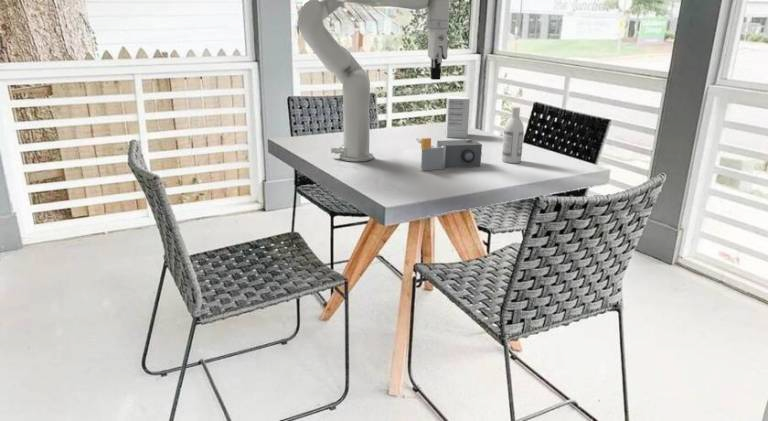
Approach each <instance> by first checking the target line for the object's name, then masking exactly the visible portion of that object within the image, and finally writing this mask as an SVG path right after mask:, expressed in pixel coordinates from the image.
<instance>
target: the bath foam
mask: <svg viewBox="0 0 768 421" xmlns="http://www.w3.org/2000/svg"><path fill="white" fill-rule="evenodd" d="M510 113H511V114H510V118H509V119H508V120H507V121H506V123H505V125H504V129H503V130H504V131H503V139H502V140H503V141H502V154H501V156H502V157H501V160H502V162H503V163H506V164H519V163H521V162H522V154H523V144H524V142H523V141H524V125H523V122H522V120H521V118H520V113H521V107H520V106H512V107H511V112H510Z"/></svg>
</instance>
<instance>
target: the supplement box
mask: <svg viewBox="0 0 768 421" xmlns="http://www.w3.org/2000/svg"><path fill="white" fill-rule="evenodd" d="M470 102H471V101H470V98H469V97H468V96H465V95H462V96H461V95H459V96H458V95H457V96H456V95H447V96H446V108H445V109H446V111H445V130H444V131H445V132H444V133H445V136H446V138H455V139H456V138H459V139H462V138H463V139H468V136H469V134H468V133H469V132H468V131H469V120H470V119H469V116H470Z"/></svg>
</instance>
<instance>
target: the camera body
mask: <svg viewBox="0 0 768 421" xmlns="http://www.w3.org/2000/svg"><path fill="white" fill-rule="evenodd" d="M442 146H446V154H445V169H451V168H452V169H453V168H456V169H457V168H480V167H481V164H482V153H481V152H482V151H483V150H482V148H483V144H482V143H480V142H479V141H477V140H476V139H471V138H464V139H456V140H455V139H454V140H453V139H452V140H448V139H447V140H437V142H436V147H442Z"/></svg>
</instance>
